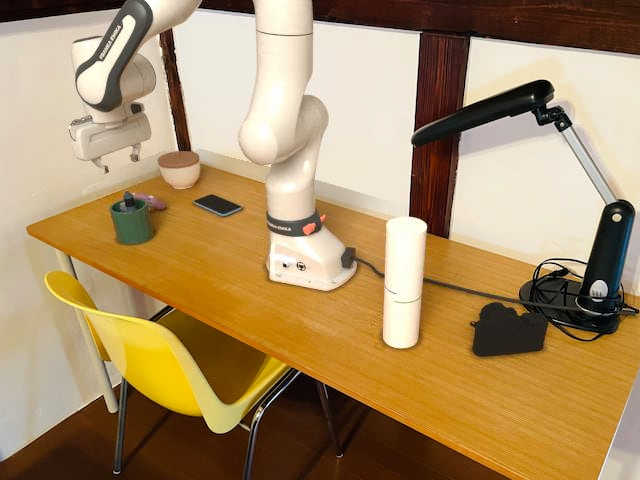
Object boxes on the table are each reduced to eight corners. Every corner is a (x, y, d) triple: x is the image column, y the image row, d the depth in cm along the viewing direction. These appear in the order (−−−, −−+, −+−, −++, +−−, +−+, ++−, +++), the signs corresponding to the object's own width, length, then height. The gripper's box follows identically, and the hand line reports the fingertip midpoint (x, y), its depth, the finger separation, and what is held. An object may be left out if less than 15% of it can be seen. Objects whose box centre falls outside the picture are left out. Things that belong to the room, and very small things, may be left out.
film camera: (527, 322, 111) (535, 286, 106) (548, 353, 103) (557, 315, 98) (457, 328, 109) (462, 292, 104) (472, 360, 101) (478, 322, 96)
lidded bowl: (193, 174, 180) (187, 142, 174) (210, 185, 172) (205, 152, 166) (156, 183, 173) (149, 150, 167) (172, 195, 165) (166, 161, 159)
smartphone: (211, 193, 164) (243, 206, 156) (212, 195, 165) (243, 209, 157) (191, 200, 160) (223, 214, 151) (191, 203, 160) (223, 217, 152)
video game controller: (133, 213, 158) (121, 198, 152) (140, 201, 160) (128, 186, 154) (162, 217, 155) (151, 202, 149) (168, 205, 157) (158, 190, 152)
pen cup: (161, 233, 144) (154, 202, 139) (134, 247, 137) (126, 216, 132) (137, 225, 148) (130, 195, 143) (110, 239, 141) (101, 208, 136)
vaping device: (136, 236, 140) (126, 194, 134) (123, 231, 142) (112, 190, 136) (144, 232, 142) (134, 191, 136) (131, 228, 144) (121, 186, 138)
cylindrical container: (396, 321, 111) (401, 213, 98) (425, 335, 107) (434, 224, 94) (375, 338, 106) (378, 226, 93) (404, 353, 103) (411, 239, 89)
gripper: (75, 124, 116) (92, 183, 123) (149, 102, 131) (160, 156, 138) (57, 120, 119) (75, 178, 126) (131, 99, 134) (143, 153, 141)
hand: (120, 167), depth 132 cm, fingers open, 8 cm apart
